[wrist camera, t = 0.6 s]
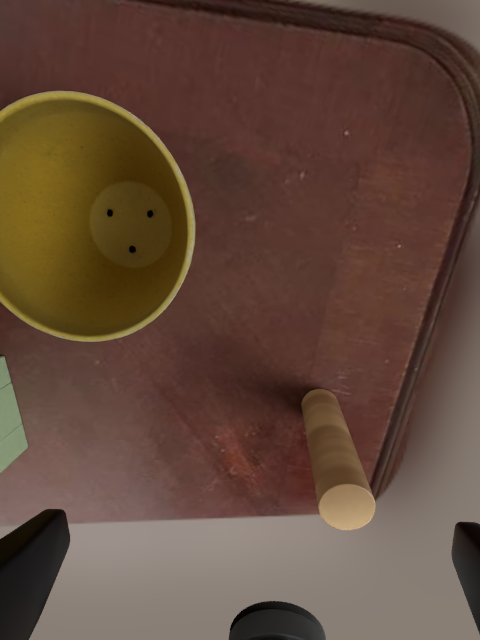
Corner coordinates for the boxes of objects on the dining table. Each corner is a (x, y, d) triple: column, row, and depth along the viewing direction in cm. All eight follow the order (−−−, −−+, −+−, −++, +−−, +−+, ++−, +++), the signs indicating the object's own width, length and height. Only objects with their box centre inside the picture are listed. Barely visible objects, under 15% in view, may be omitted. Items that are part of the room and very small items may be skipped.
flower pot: (218, 133, 20) (191, 89, 13) (217, 309, 23) (194, 347, 16) (45, 132, 21) (-65, 90, 14) (63, 303, 24) (-21, 337, 17)
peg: (338, 420, 24) (375, 530, 16) (301, 421, 25) (319, 531, 16) (337, 387, 24) (376, 483, 15) (300, 389, 24) (317, 484, 15)
